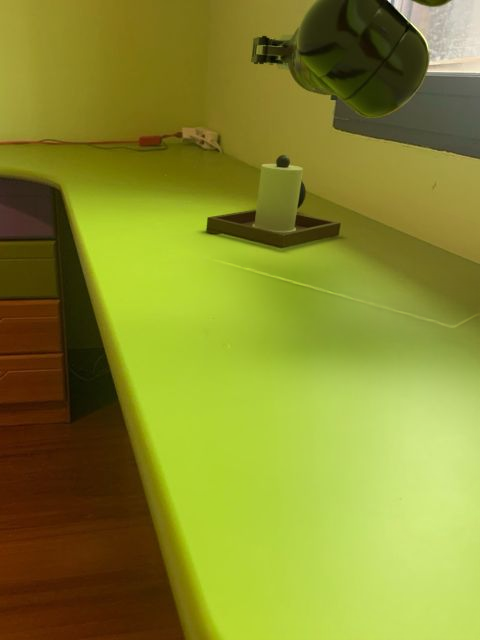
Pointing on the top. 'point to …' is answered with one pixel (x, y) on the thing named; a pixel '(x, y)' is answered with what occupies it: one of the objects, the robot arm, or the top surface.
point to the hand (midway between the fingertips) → (308, 55)
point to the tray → (242, 228)
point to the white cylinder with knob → (278, 196)
